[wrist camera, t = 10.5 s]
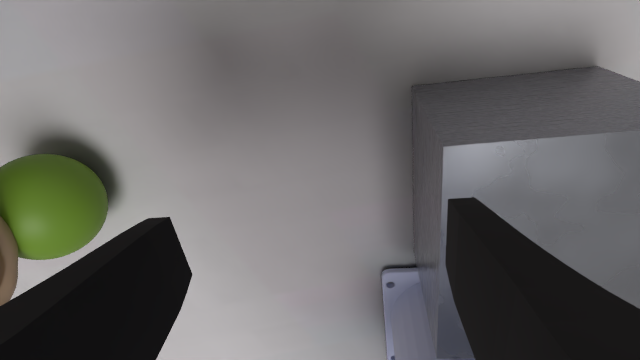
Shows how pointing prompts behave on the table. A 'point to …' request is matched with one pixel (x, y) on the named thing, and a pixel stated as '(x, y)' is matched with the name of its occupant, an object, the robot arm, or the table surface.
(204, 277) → the table surface
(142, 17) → the table surface
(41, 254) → the snail figurine
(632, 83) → the bore block
